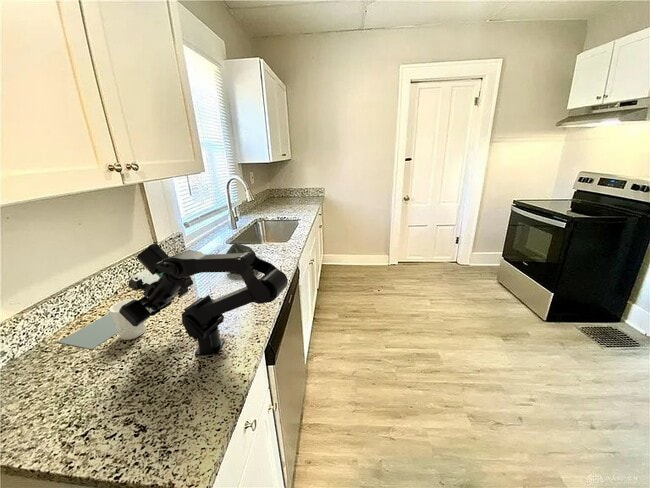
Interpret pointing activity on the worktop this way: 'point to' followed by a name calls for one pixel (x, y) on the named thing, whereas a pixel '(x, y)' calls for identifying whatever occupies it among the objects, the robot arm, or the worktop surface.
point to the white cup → (125, 322)
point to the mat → (92, 333)
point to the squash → (239, 251)
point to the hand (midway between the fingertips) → (145, 314)
